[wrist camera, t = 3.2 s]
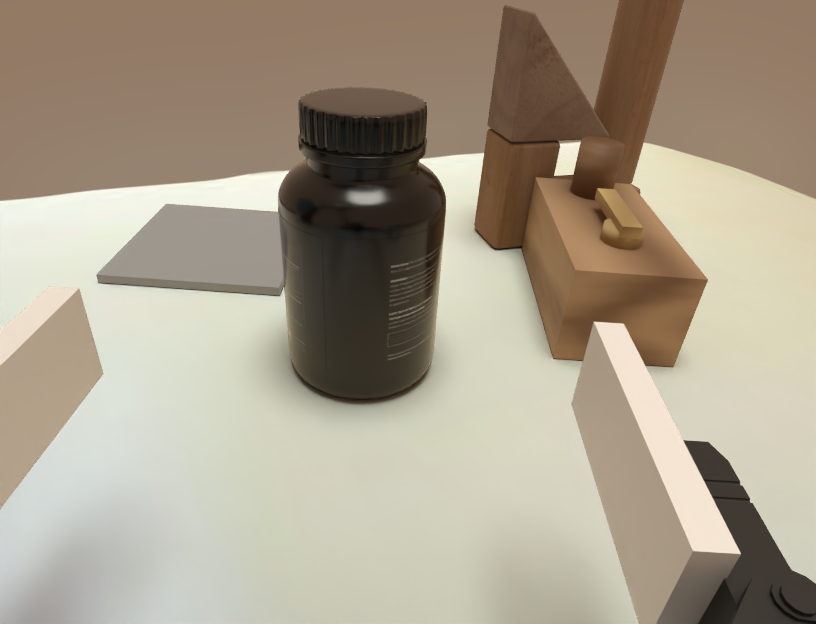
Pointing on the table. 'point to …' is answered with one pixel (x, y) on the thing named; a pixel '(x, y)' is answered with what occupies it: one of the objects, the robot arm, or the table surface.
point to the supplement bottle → (361, 243)
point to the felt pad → (203, 251)
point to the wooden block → (565, 107)
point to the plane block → (607, 261)
